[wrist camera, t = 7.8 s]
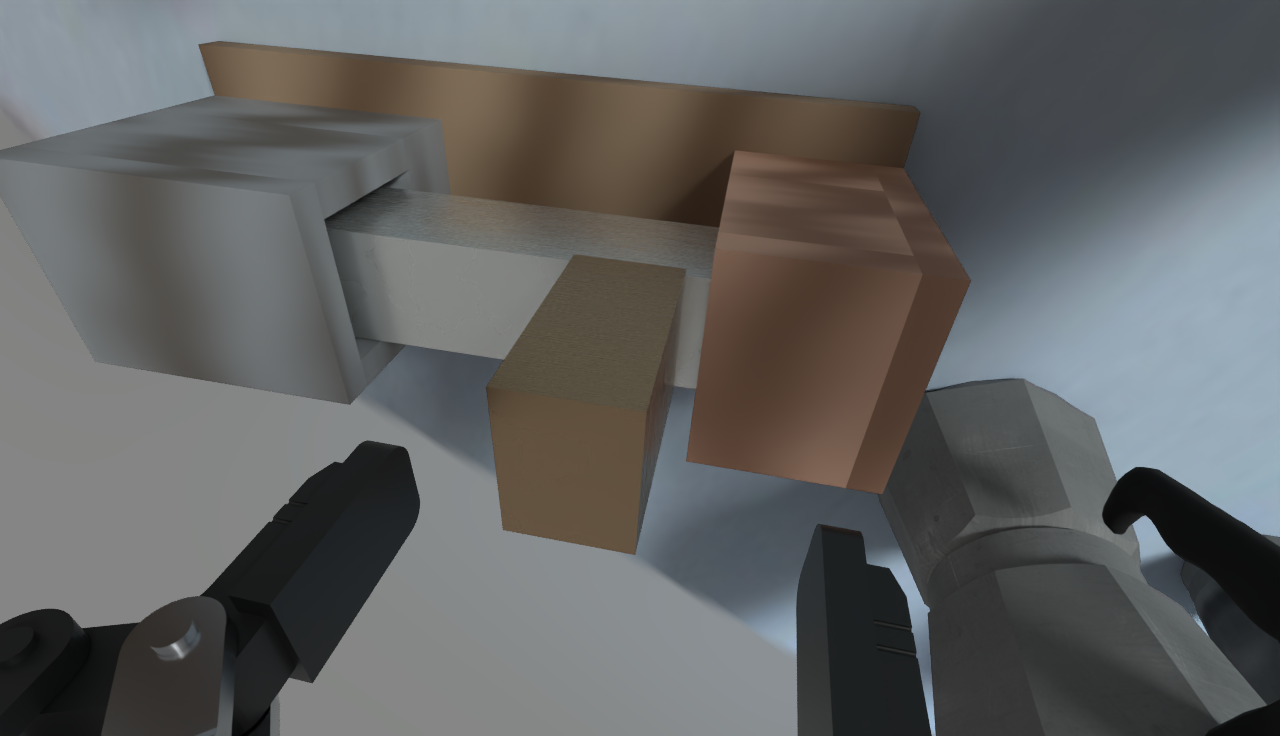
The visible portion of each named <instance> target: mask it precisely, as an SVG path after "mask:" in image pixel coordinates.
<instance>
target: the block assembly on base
mask: <svg viewBox="0 0 1280 736" xmlns="http://www.w3.org/2000/svg"><path fill="white" fill-rule="evenodd" d="M198 45H199V48H200V51H201V54H202V57H203V60H204V63H205V66H206V69H207V72H208V75H209V78H210V81H211V84H212V87H213V91H214V94H215V96H211V97H207V98H203V99H199V100H195V101H191V102H187V103H184V104H180V105H176V106H172V107H168V108H164V109H160V110H156V111H152V112H148V113H144V114H140V115H136V116H132V117H129V118H125V119H121V120H117V121H113V122H109V123H105V124H101V125H97V126H93V127H89V128H85V129H81V130H77V131H74V132H70V133H66V134H62V135H58V136H54V137H50V138H46V139H42V140H38V141H34V142H30V143H26V144H22V145H19V146H15V147H11V148H7V149H3V150H0V197H1V199H2V200H3V202H4V204H5V205H6V207H7V209H8V211H9V212H10V214H11V216H12V218H13V219H14V221H15V223H16V225H17V226H18V228H19V230H20V231H21V233H22V235H23V237H24V239H25V240H26V242H27V244H28V246H29V247H30V249H31V251H32V253H33V254H34V256H35V258H36V260H37V261H38V263H39V265H40V266H41V268H42V270H43V272H44V273H45V275H46V277H47V279H48V280H49V282H50V284H51V286H52V287H53V289H54V291H55V292H56V294H57V296H58V298H59V299H60V301H61V303H62V305H63V306H64V308H65V310H66V312H67V313H68V315H69V317H70V319H71V320H72V322H73V324H74V326H75V327H76V329H77V331H78V333H79V334H80V336H81V338H82V340H83V341H84V343H85V345H86V347H87V348H88V350H89V352H90V354H91V355H92V357H93V359H94V361H95V362H100V363H106V364H111V365H118V366H123V367H129V368H135V369H141V370H147V371H154V372H160V373H165V374H171V375H177V376H183V377H189V378H194V379H201V380H206V381H212V382H218V383H225V384H231V385H236V386H243V387H249V388H254V389H260V390H266V391H272V392H278V393H284V394H290V395H296V396H301V397H307V398H313V399H320V400H326V401H331V402H337V403H343V404H351V403H352V402H353V401H354V400H355V399H356V397H357V396H358V395H359V394H360V393H361V392H362V391H363V390H364V389H365V388H366V387H367V386H368V385H369V384H370V383H371V382H372V380H373V379H374V378H375V377H376V376H377V375H378V374H379V373H380V372H381V371H382V370H383V369H384V368H385V367H386V366H387V365H388V363H389V362H390V361H391V360H392V359H393V358H394V357H395V356H396V355H397V354H398V353H399V352H400V351H401V350H402V349H403V347H404V346H405V344H399V343H392V342H386V341H379V340H373V339H366V338H360V337H355V336H354V332H353V328H352V324H351V321H350V317H349V313H348V309H347V305H346V301H345V298H344V294H343V290H342V286H341V282H340V279H339V275H338V271H337V267H336V263H335V259H334V256H333V252H332V248H331V244H330V240H329V236H328V233H327V229H326V225H325V221H324V219H326V218H328V217H329V216H331V215H333V214H334V213H336V212H338V211H339V210H341V209H343V208H344V207H346V206H348V205H350V204H351V203H353V202H355V201H356V200H358V199H360V198H361V197H363V196H365V195H366V194H368V193H370V192H371V191H373V190H375V189H377V188H378V187H380V186H381V187H389V188H397V189H406V190H414V191H422V192H430V193H439V194H447V195H455V196H463V197H472V198H480V199H488V200H496V201H505V202H513V203H521V204H529V205H538V206H546V207H554V208H562V209H571V210H579V211H587V212H595V213H603V214H612V215H620V216H628V217H636V218H645V219H653V220H661V221H669V222H678V223H686V224H694V225H702V226H711V227H719V232H718V237H717V242H716V247H715V253H714V261H713V268H712V275H711V283H710V290H709V297H708V305H707V312H706V319H705V327H704V334H703V341H702V349H701V356H700V363H699V371H698V378H697V385H696V393H695V400H694V407H693V415H692V422H691V429H690V437H689V444H688V452H687V459H686V461H688V462H693V463H699V464H705V465H711V466H717V467H723V468H729V469H735V470H741V471H747V472H753V473H759V474H765V475H771V476H777V477H783V478H789V479H794V480H800V481H806V482H812V483H818V484H824V485H830V486H836V487H842V488H848V489H854V490H860V491H866V492H872V493H878V494H883V491H884V489H885V487H886V484H887V482H888V479H889V477H890V475H891V472H892V470H893V467H894V465H895V463H896V460H897V458H898V455H899V453H900V450H901V448H902V446H903V443H904V441H905V438H906V436H907V434H908V431H909V429H910V426H911V424H912V422H913V419H914V417H915V414H916V412H917V410H918V407H919V405H920V402H921V400H922V398H923V395H924V393H925V390H926V388H927V385H928V383H929V381H930V378H931V376H932V373H933V371H934V369H935V366H936V364H937V361H938V359H939V357H940V354H941V352H942V349H943V347H944V345H945V342H946V340H947V337H948V335H949V332H950V330H951V328H952V325H953V323H954V320H955V318H956V316H957V313H958V311H959V308H960V306H961V304H962V301H963V299H964V296H965V294H966V292H967V289H968V287H969V284H970V282H971V280H970V278H969V277H968V275H967V273H966V272H965V270H964V268H963V267H962V265H961V263H960V262H959V260H958V258H957V257H956V255H955V253H954V252H953V250H952V248H951V247H950V245H949V243H948V242H947V240H946V238H945V237H944V235H943V233H942V232H941V230H940V228H939V227H938V225H937V223H936V222H935V220H934V218H933V217H932V215H931V213H930V212H929V210H928V208H927V207H926V205H925V203H924V202H923V200H922V198H921V197H920V195H919V193H918V192H917V190H916V188H915V187H914V185H913V183H912V182H911V180H910V178H909V177H908V175H907V173H906V172H905V170H904V165H905V162H906V158H907V155H908V152H909V148H910V145H911V142H912V139H913V135H914V132H915V129H916V126H917V122H918V119H919V116H920V112H919V111H918V110H917V109H916V108H915V107H914V106H906V105H895V104H884V103H874V102H863V101H852V100H842V99H831V98H820V97H810V96H799V95H788V94H778V93H767V92H756V91H746V90H735V89H724V88H714V87H703V86H692V85H682V84H671V83H660V82H650V81H639V80H628V79H618V78H607V77H596V76H586V75H575V74H564V73H554V72H543V71H532V70H522V69H511V68H500V67H490V66H479V65H468V64H458V63H447V62H436V61H426V60H415V59H405V58H394V57H383V56H373V55H362V54H351V53H341V52H330V51H319V50H309V49H298V48H287V47H277V46H266V45H255V44H245V43H234V42H223V41H217V42H211V43H204V44H198Z"/></svg>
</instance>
